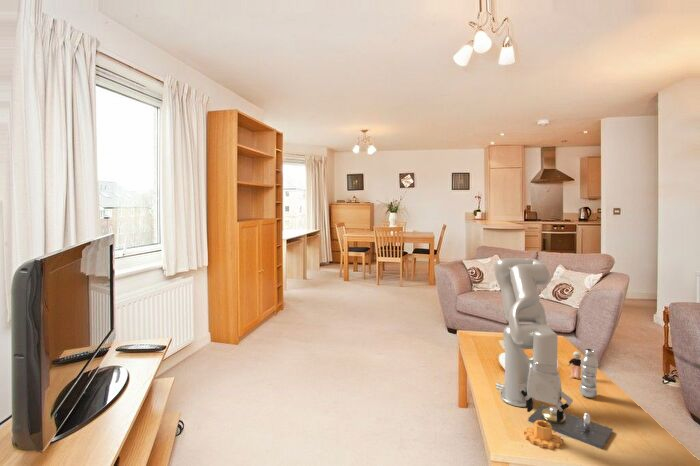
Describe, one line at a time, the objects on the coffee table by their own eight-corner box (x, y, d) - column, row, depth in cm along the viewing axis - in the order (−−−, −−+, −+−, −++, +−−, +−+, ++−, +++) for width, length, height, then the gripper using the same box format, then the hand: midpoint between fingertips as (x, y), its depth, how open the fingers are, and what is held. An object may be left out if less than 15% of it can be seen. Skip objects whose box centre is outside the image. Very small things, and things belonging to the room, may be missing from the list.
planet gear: (518, 438, 135) (519, 424, 134) (532, 425, 143) (532, 411, 142) (554, 453, 126) (555, 438, 126) (566, 438, 134) (567, 424, 134)
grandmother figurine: (568, 378, 181) (569, 352, 180) (566, 375, 185) (567, 349, 184) (587, 380, 179) (588, 353, 179) (584, 377, 183) (585, 350, 182)
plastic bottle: (577, 396, 164) (578, 350, 163) (581, 390, 169) (583, 346, 168) (594, 401, 160) (596, 354, 159) (599, 395, 165) (600, 350, 163)
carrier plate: (528, 420, 146) (528, 402, 145) (542, 407, 155) (542, 390, 155) (602, 449, 128) (602, 428, 128) (612, 432, 138) (613, 412, 137)
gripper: (515, 362, 136) (514, 410, 137) (568, 376, 124) (568, 429, 124) (523, 357, 141) (523, 403, 142) (576, 370, 129) (575, 421, 129)
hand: (544, 415), depth 133 cm, fingers open, 9 cm apart
